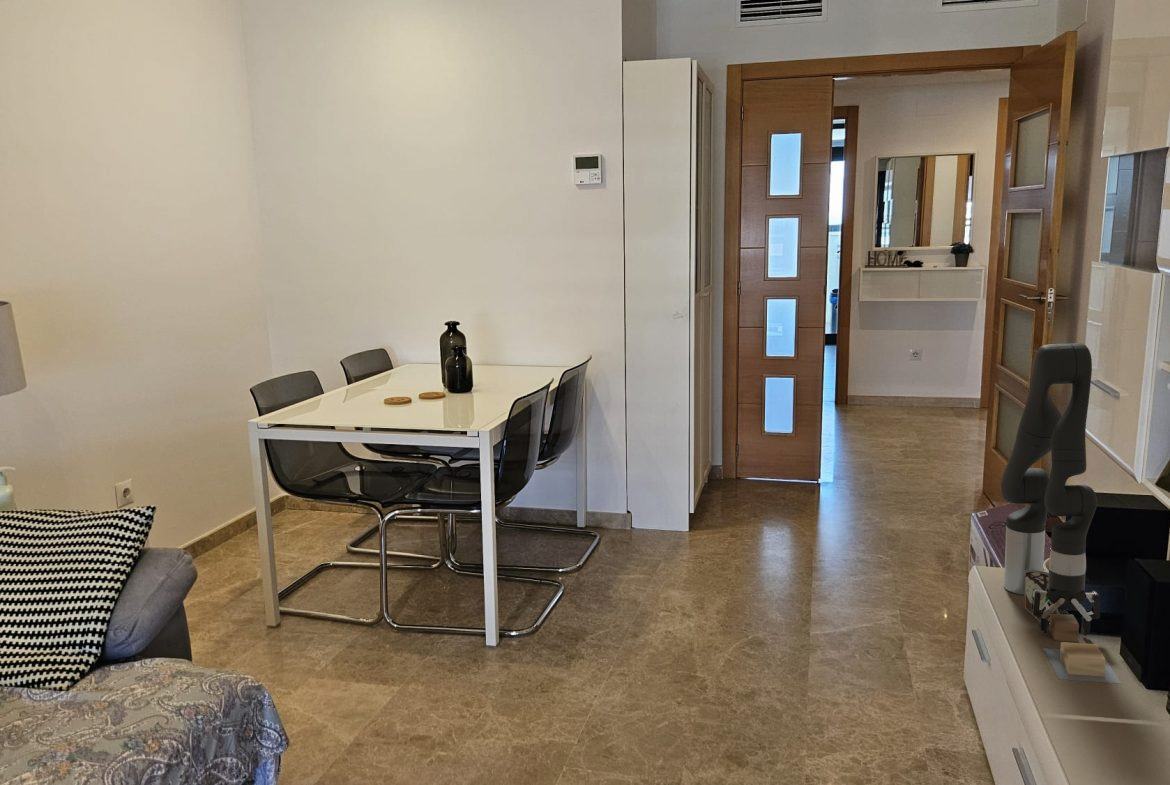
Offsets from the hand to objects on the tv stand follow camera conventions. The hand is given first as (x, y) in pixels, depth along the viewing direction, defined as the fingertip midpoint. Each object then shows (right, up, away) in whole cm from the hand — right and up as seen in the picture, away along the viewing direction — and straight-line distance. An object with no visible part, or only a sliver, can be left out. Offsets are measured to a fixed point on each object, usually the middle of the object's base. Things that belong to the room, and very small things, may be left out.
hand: (1063, 632), depth 211 cm
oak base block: (-4, -4, -14) cm, 15 cm away
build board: (-3, -4, -13) cm, 14 cm away
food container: (+2, +1, +12) cm, 12 cm away
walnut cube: (0, -1, +1) cm, 2 cm away
